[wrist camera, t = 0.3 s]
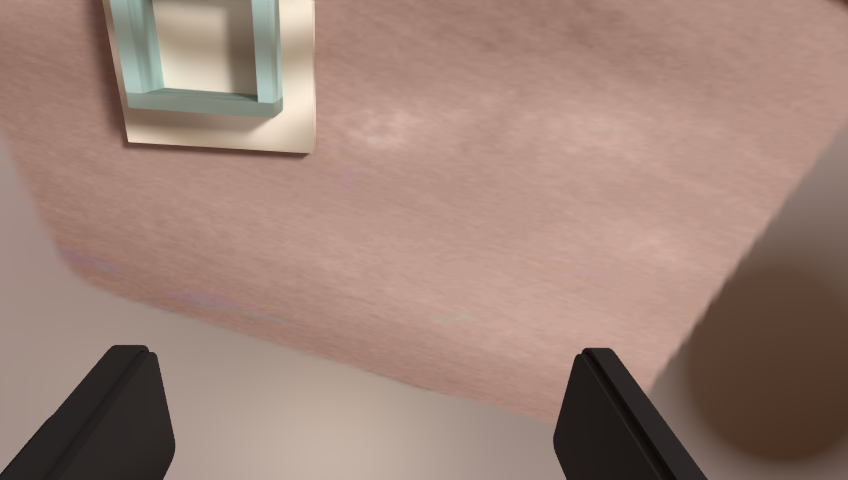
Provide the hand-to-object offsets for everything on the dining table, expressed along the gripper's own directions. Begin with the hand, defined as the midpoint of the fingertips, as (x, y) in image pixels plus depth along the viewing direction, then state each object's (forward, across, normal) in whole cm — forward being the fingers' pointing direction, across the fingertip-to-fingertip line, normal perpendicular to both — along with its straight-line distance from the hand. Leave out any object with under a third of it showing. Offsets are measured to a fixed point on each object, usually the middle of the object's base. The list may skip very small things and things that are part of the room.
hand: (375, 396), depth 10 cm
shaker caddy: (+30, +12, -6) cm, 33 cm away
